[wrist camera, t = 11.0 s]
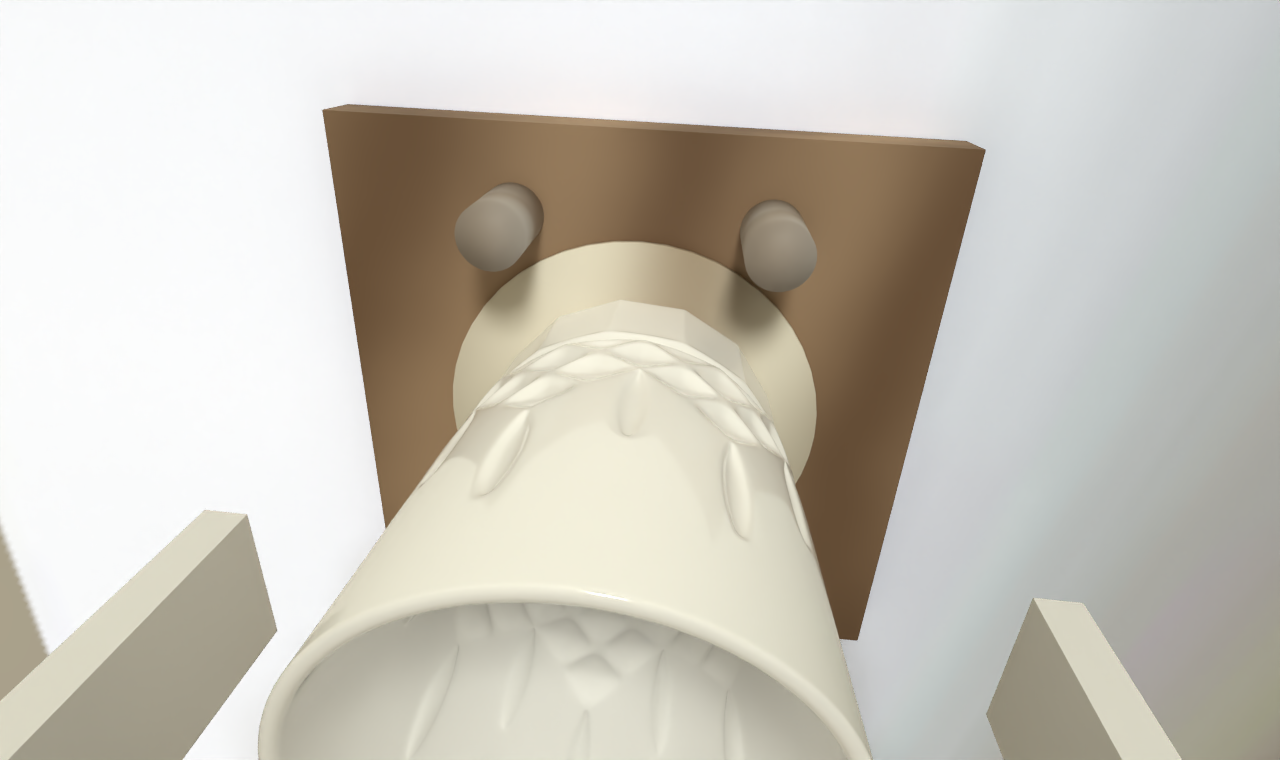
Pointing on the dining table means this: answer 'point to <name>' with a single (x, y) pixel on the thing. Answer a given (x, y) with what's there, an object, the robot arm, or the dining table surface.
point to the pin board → (657, 279)
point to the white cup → (588, 576)
